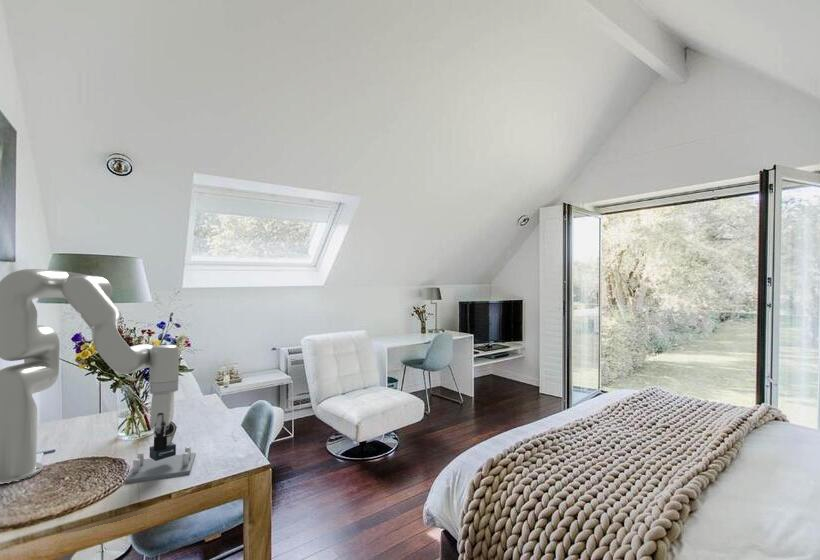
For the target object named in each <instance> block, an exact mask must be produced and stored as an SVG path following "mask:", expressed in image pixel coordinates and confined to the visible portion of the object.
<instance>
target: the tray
mask: <svg viewBox="0 0 820 560" xmlns="http://www.w3.org/2000/svg"><path fill="white" fill-rule="evenodd" d="M191 447H192V446H186V447H185V448H184V452H183V453H182V454H176V455H174V456H171V457H167V458H164V459H161V460H158V461H155V460H153V459H151V458H150V457H149V458H145V459H144V457H145V452H142V451H140V452H138V453H137V454H136V456H137V458H134V459H133V460H132V468H131V469H130V471H129V473H128V474H127V476H126V477H125V479H124V484H128V483H129V484H130V483H137V482H144V481H145V482H146V481H151V480H157V479H165V478H166V479H167V478H173V477H178V476H180V477H181V476H184V475H186V476H187V475H190V474H191V471H192V468H193V465H194V462H195V458H196V452H192V451H191V450H192V448H191Z"/></svg>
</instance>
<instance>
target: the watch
mask: <svg viewBox="0 0 820 560" xmlns="http://www.w3.org/2000/svg"><path fill="white" fill-rule="evenodd" d="M162 425H165V424H162ZM155 426H156V425H155ZM153 428H154V429H153V435H154V434H155V427H153ZM162 429H163V431H164V428H162ZM177 429H178V426H177V425H176V424H175V422H173V420H172V421H171V423H170V425H169V426H167V429H166V435H167V449H166V450H160V451H154V445H152V446H150V447H149V459H150V458H151V459H153V460H155V461H158V460H161V459H164V458H167V457H171V456H174V455H177V453H176V452H177V445H176V443H174V442H173V439H174V438H175V434H176V433H177Z"/></svg>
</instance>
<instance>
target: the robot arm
mask: <svg viewBox="0 0 820 560" xmlns="http://www.w3.org/2000/svg"><path fill="white" fill-rule="evenodd" d="M112 296H113V285H112V283H110V281H109V280H107V279H106V278H104V277H102V276H99V275H91V274H86V273H85V274H84V273H77V272H71V271H65V270H55V269H54V270H53V269H41V268H29V269H28V268H25V269H20V270H15V271H13V272H10V273H9V274H7V275H5V276H4V277H3V278H2V279H1V280H0V359H2V360H4V361H7V362H15V361H16V362H17V361H22V360H23V363H19V364H13V365H10V366H6V367H4V368H1V369H0V482H9V481H15V480H20V479H24V478H27V477H29V476H32V475H34V474H36V473H38V472H40V471H41V470H42V469H43V470H44V464H43V463H41V462H37V452H38V451H37V446H38V445H37V444H38V443H37V442H38V407H37V403H36V402H35V400H34V398H33V394H36V393H40V392H42V391H45V390H47V389H49V388H51V387H52V386H53V385H55V383H56V382H57V380H58V378H59V373H60V352H61V351H60V345H61V344H60V338H59V335H58V334H57V332H56V331H55V330H54V329H53V328H52V327H50V326H47V325H41V324H40V325H38V310H37V308H36V306H35V303H34V302H33V300H35V299H48V298H49V299H51V298H52V299H55V298H56V299H57V298H58V299H65V300H66V301H67V302H68V304H69V305H71V307H72V308H73V309H74V311H75V312H76V313H77V314H78V315H79V316H80V317H81V319H82V320H83V322H85V324H86V325H87V327H89V328H90V331H91V338H92V342H93V345H94V348H95V350H96V353H97V354H98V356H99V357H100V358H101V359H102V360H103V361H104V363H106V364H107V366H108V367H110V368H111V370H113V371H114V372H116V373H118V374H120V375H121V374H122V375H130V374H133V373H136V372H139V371H141V370H144V369H147V368H149V384H148V385H149V387H148V388H149V389H148V391H149V392H148V393H149V394H151V395H152V397H151V403H150V416H149V417H150V418H149V428H150V429H153V428H154V427H155V434H154V433H153V446H154V451H160V450H166V449H167V435H166V429H167V426H169V425H170V423H171V421H172V422H173V419H174V417H175V416H174V415H175V393H176V392H177V391H179V377H180V376H179V375H180V373H179V370H180V369H179V367H180V365H179V362H180V361H179V360H180V353H179V352H180V351H179V349H180V348H179V346H178V345H176V344H160V345H157V344H150V343H149V344H148V343H140V344H134V345H131V346H130V345H129V343H127V341H125V339H124V338H123V337H122V335H121V333H120V332H119V329H118V322H119V320H121V319H120V318H121V317H122V313H121V310H120V309H119V308H118V307H117V306H116V305H115V303H114V302H113V301H112V300H111V297H112ZM162 424H165V425H162ZM155 425H156V426H155ZM162 428H164V431H163V429H162ZM43 470H42V471H43ZM42 471H41V472H42ZM41 472H40V473H41ZM38 474H39V473H38ZM36 475H37V474H36ZM34 476H35V475H34ZM32 477H33V476H32ZM27 479H28V478H27ZM24 480H25V479H24Z"/></svg>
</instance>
